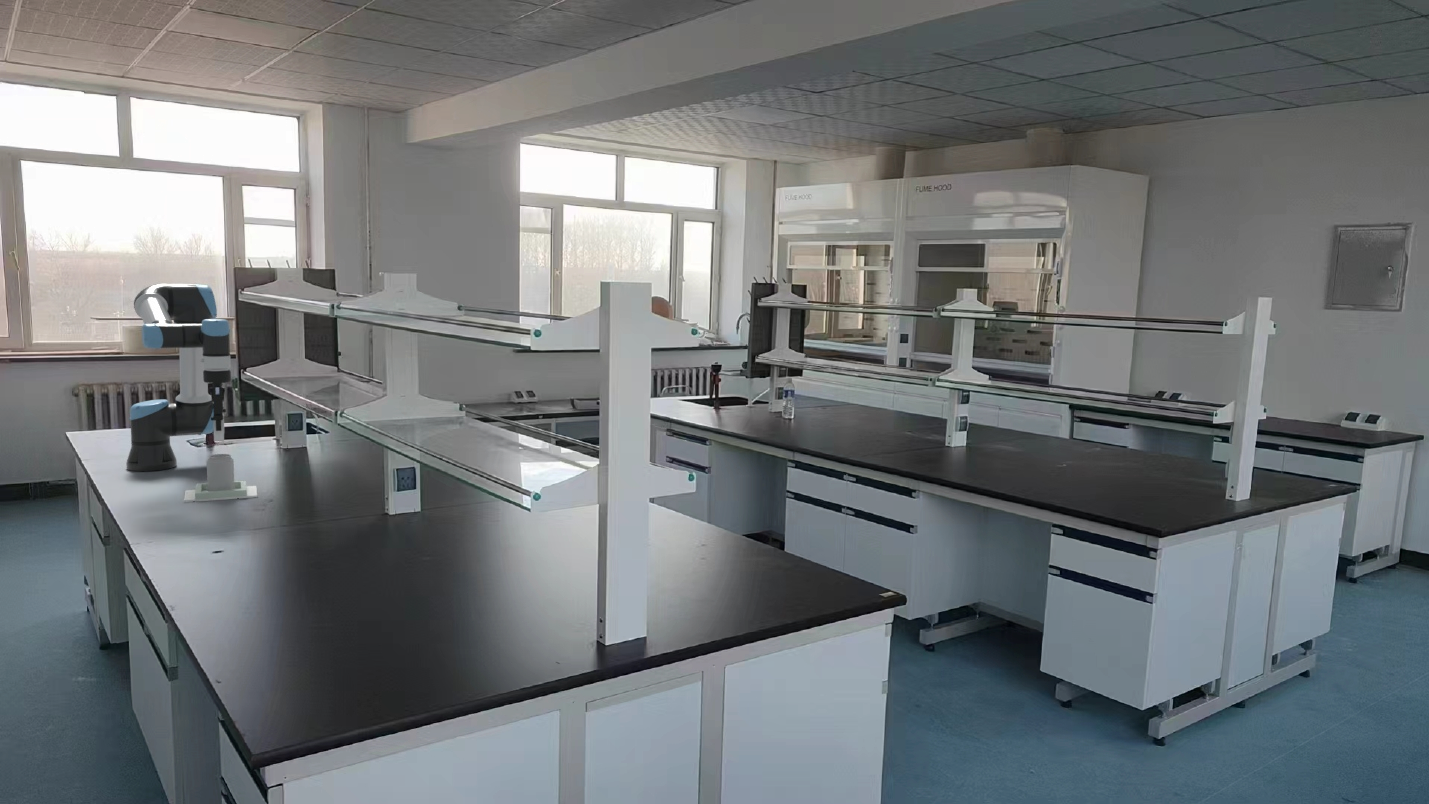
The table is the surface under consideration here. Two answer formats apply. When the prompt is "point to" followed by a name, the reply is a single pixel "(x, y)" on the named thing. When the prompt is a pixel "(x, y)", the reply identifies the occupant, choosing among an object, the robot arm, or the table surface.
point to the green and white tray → (220, 492)
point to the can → (220, 472)
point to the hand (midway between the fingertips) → (219, 437)
